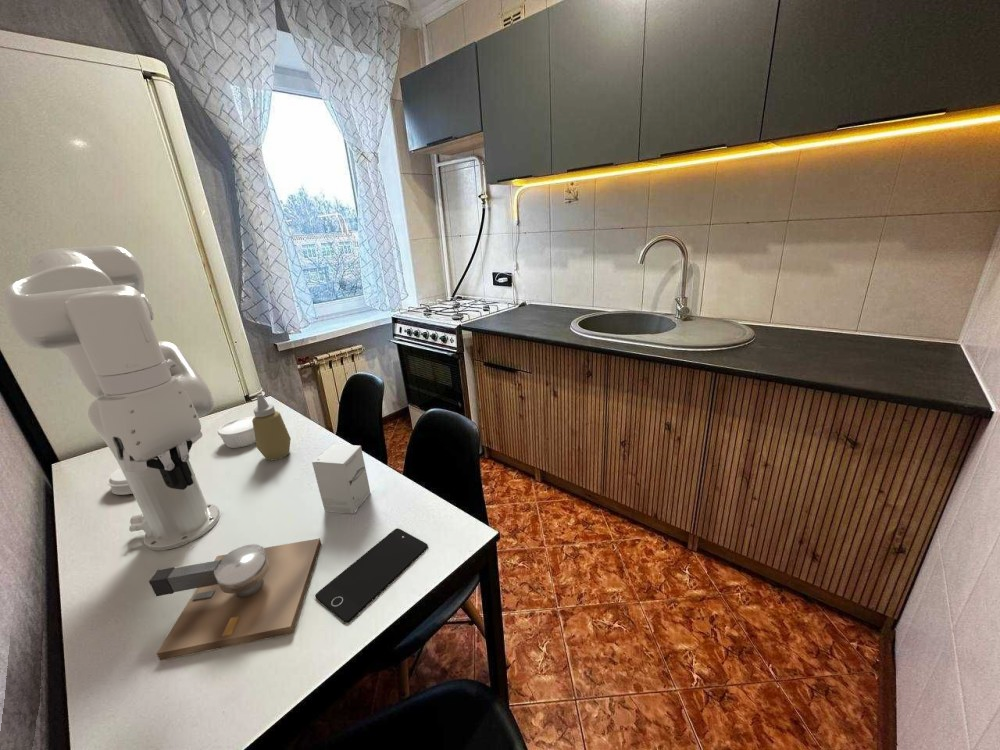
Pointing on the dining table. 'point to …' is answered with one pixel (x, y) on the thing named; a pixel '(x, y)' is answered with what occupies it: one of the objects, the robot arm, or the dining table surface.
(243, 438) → the ramekin
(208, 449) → the dining table surface
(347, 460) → the supplement box
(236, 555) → the square-handled spoon
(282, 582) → the post base
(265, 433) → the squeeze bottle
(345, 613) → the cell phone
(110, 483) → the lid
